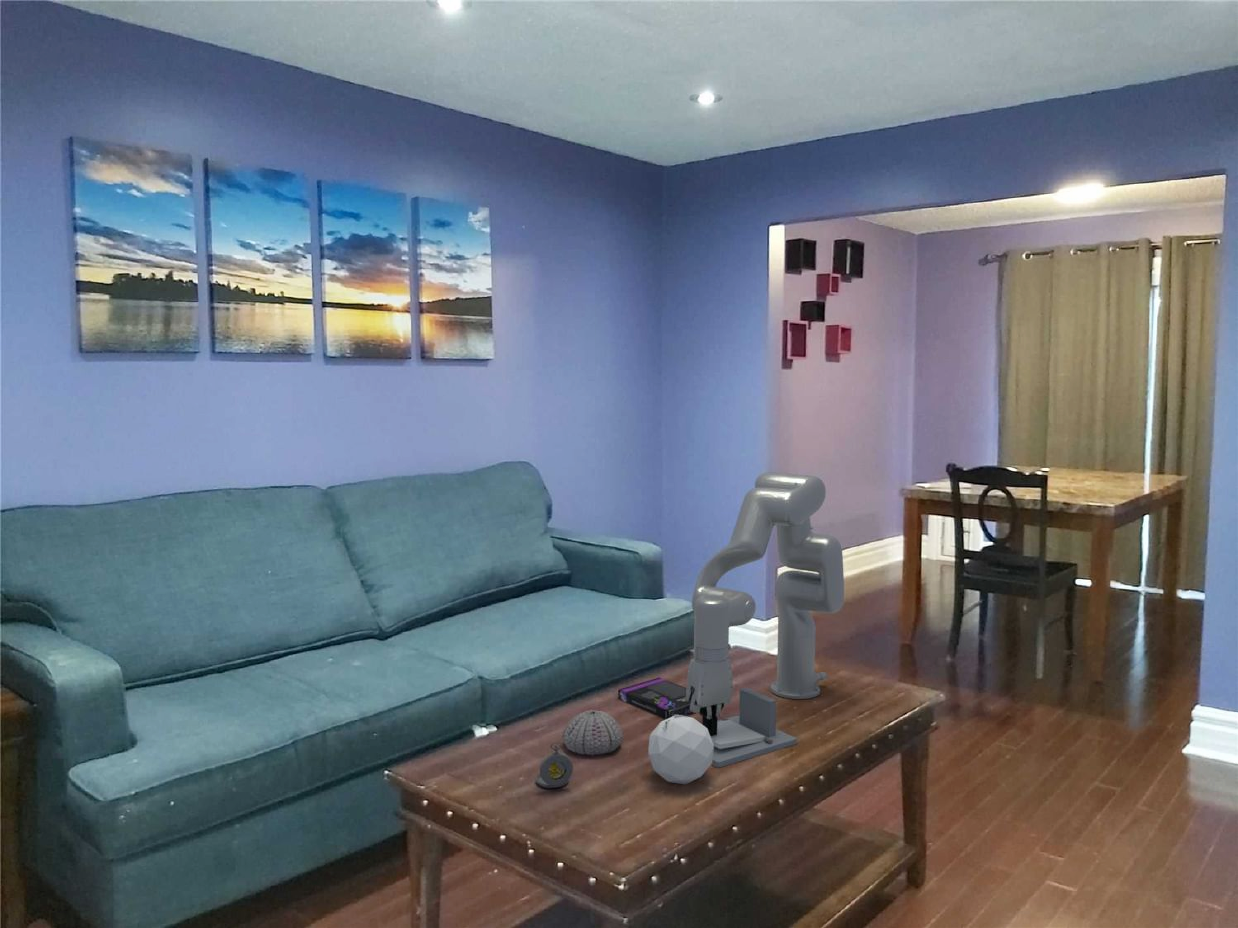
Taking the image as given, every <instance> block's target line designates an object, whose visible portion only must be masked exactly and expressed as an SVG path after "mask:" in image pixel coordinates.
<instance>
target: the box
mask: <svg viewBox="0 0 1238 928" xmlns="http://www.w3.org/2000/svg"><path fill="white" fill-rule="evenodd" d="M617 698H618V700H619V701H622V702H623V703H626V704H629V705H631V706H633V707H636V708H639V709H641V710H643V711H645V712H648V713H650V714H652V715H654V716H656V717H658V718H659V717H660V718H661V719H664V720H666V719H668V718H670V717H673V716H674V714H676V715H677V714H678V715H682V716H687V717H688V716H690V715H693V714H695V713H694V712H692V711H690V710H689V709H690V704H691V703H690V702H687V700H686V687H685V686H682V685H680V684H677V683H674V682H671V681H669V680H667V679H664V678H661V677H656V678H652V679H649V680H646V681H642V682H639V683H635V684H633V685H631V686H625V687H622V688H619V689H618V690H617Z"/></svg>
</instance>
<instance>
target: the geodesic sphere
mask: <svg viewBox="0 0 1238 928" xmlns="http://www.w3.org/2000/svg"><path fill="white" fill-rule="evenodd" d="M713 750H714V745H713V742H712V739H711V737H710V734H709V731H708V729H707V728H706V727H705V726H703V725H702V723H701V722H699V720H697V719H695V718H694V717H690V716H688V715H687V716H682V715H678V714H677V715H676V714H674V716H673V717H670V718H668V719H664V720H662V721H660V722H659V724H657V726H656V727H655V728H654V729H653V731H652V732H651V733H650V734H649V739H648V750H647V754H648V757H649V759H650V763H651V765H652V768H653V771H654V772H656V774H658V775H659V776H660V777H662V778H663V779H664V780H665V781H667V782H668V783H672V784H673V783H674V784H680V785H687V784H689V783H691V782H693V781H695V780H698V779H700V778H702V776H703V775H704V774H705V772H706V771H707V770H708V769H709V768H710V767H711V765H712V759H713Z"/></svg>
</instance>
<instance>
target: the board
mask: <svg viewBox="0 0 1238 928" xmlns="http://www.w3.org/2000/svg"><path fill="white" fill-rule="evenodd" d="M725 720H731V721H733V722H735V723H737V724H739V725H741V726H744V727H746V728H748V729H750V730H752V731H754V732H756V733H758V734H760V735H763V736H765V739H764V741H762V742H757V743H751V744H745V745H740V746H734V747H728V748H723V749H719V748H717V747H715V746H714V750H713V759H712V764H711V765H712V766H714V767H716V768H718V769H719V768H722V767H723V768H724V767H726V766H729V765H732V764H735V763H739V762H741V761H746V760H748V759H752V758H754V757H758V756H761V755H765V754H769V753H772V752H775V751H778V750H781V749H784V748H785V749H786V748H788V747H791V746H794V745H797V744H798V738H797V737H794V736H793V735H791V734H787V733H786V732H784V731H781V730H779V729H777V700H776V699H775V698H771V697H769V696H767V695H765V694H762V693H760V692H758V691H755V690H752V689H751V688H749V687H745V688H744V687H743V688H740V689H739V714H738V715H734V716H731V717H725V716H724V717H722V719H719V720H718V721H717V722H719V721H725Z"/></svg>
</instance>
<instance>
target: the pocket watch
mask: <svg viewBox="0 0 1238 928" xmlns="http://www.w3.org/2000/svg"><path fill="white" fill-rule="evenodd" d="M555 744H556V745H555ZM558 744H560V745H561V746H559V745H558ZM553 745H555V746H554V747H552V746H553ZM563 746H564V743H562V741H561V742H560V741H556V742H552V743H551V744H550V746H549V747H550V749H552V750H553V751H554V752H553V753H550V754H549V755H547V756H546V757H545V758H543V760H542V762H541V763H540V766H539V774H538V775H537V776H536V779H535V781H536V784H537V785H539V787H543V788H549V789H554V788H561V787H563V786H565V785H567V784H568V783H569V779H571V777H572V775H573V771H574V768H573V767H574V765H573V761H572V760H571V758H570V757H569V756H568V755H567V754H566V753H564V752H563V753H562V752H558V751H559V750H560V749H562V747H563Z"/></svg>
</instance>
